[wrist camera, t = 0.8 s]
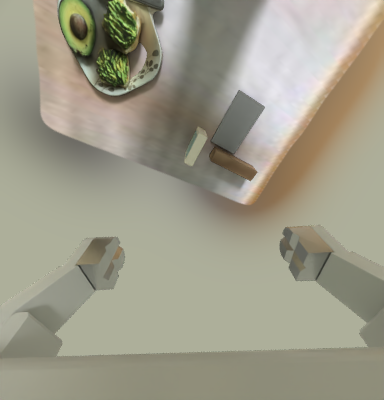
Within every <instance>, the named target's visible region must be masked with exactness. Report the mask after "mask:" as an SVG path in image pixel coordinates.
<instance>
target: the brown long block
mask: <svg viewBox="0 0 384 400" xmlns="http://www.w3.org/2000/svg"><path fill="white" fill-rule="evenodd" d="M209 157H210V160H211V161H212V162H214V163H216V164H218V165H220V166H222V167H224V168H226V169H228V170H230V171H232V172H234V173H236V174H238V175H239V176H241V177H243V178H245V179H247V180H249V181H251V180H252V179H253V177H254V176H255V175H256V174H257V171H256V170H255V168H254V167H253V166H252V165H250V164H248V163H246V162H244V161H242V160H240V159H238V158H236V157H235V156H233V155H231V154H229V153H227V152H225V151H223V150H221V149H219V148H218V147H216V146H214V148H213V150H212V151H211V153H210V155H209Z"/></svg>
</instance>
